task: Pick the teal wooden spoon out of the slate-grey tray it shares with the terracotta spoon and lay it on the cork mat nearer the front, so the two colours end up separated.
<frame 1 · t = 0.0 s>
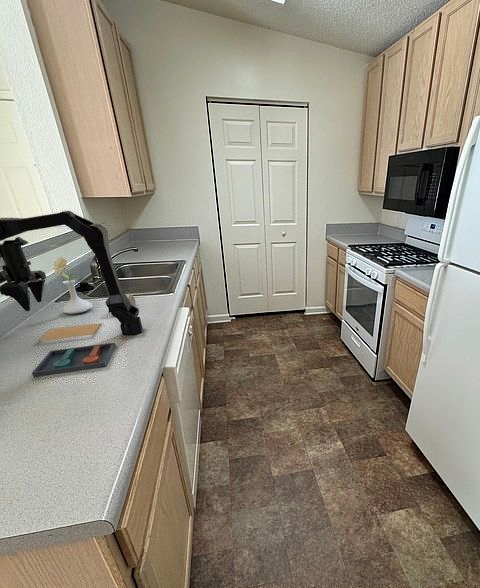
hand: (34, 306, 113), 15 cm above the counter, tool pointing down, fingers open, 9 cm apart
cork mat: (70, 334, 127), on the counter
teal spoon: (67, 361, 106), point 1 cm above the counter, touching tray
terracotta spoon: (95, 358, 108), point 1 cm above the counter, touching tray
ceramic mug: (126, 310, 150), on the counter
flower in vase: (79, 312, 149), on the counter
tray: (78, 362, 107), on the counter
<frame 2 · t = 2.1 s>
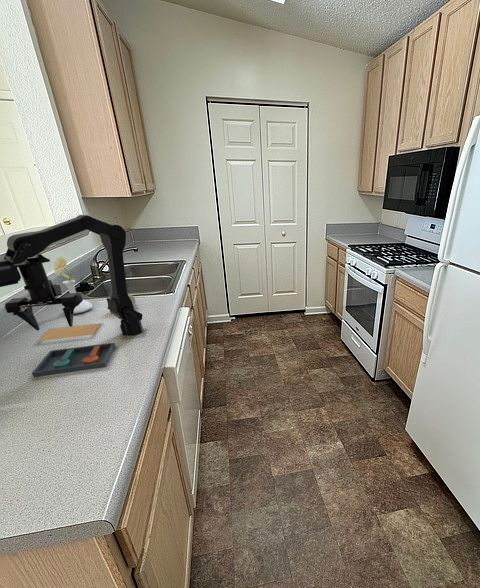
hand: (55, 328, 104), 11 cm above the counter, tool pointing down, fingers open, 9 cm apart
nothing on the counter moved.
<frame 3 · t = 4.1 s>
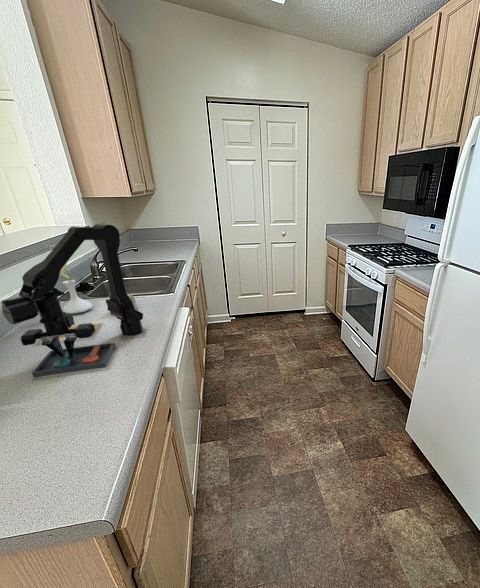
hand: (68, 357, 107), 2 cm above the counter, tool pointing down, fingers closed on teal spoon, 2 cm apart
teal spoon: (67, 361, 106), point 1 cm above the counter, touching gripper, tray
everything else where it was.
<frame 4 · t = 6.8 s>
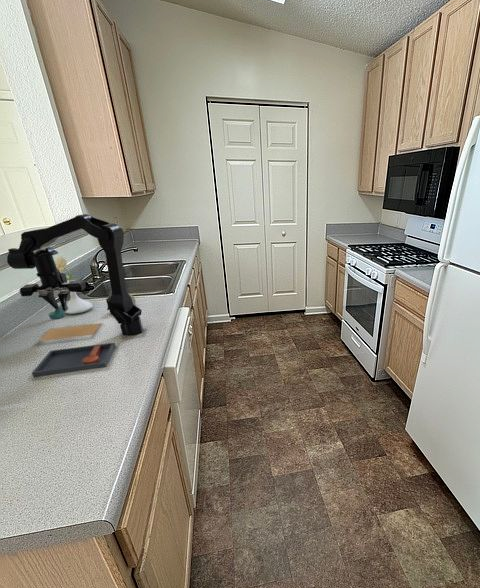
hand: (61, 310, 121), 10 cm above the counter, tool pointing down, fingers closed on teal spoon
teal spoon: (61, 314, 120), point 9 cm above the counter, touching gripper
everything else where it was.
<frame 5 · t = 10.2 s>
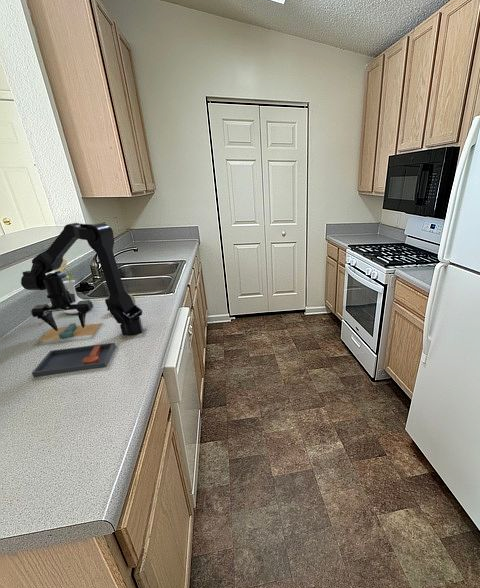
hand: (70, 329, 128), 1 cm above the counter, tool pointing down, fingers open, 9 cm apart
teal spoon: (70, 333, 127), resting on cork mat
everything else where it was.
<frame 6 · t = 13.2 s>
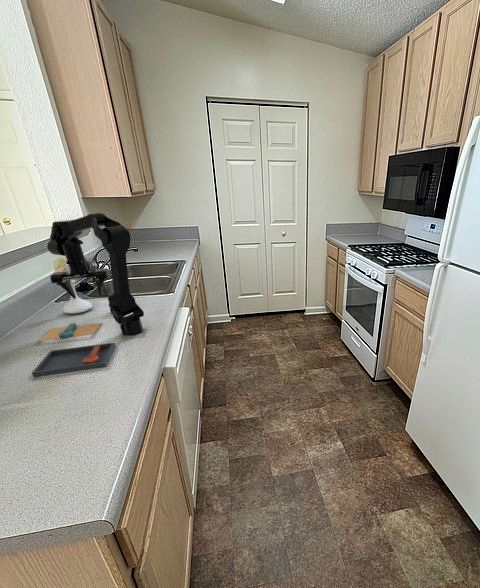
hand: (88, 297, 129), 12 cm above the counter, tool pointing down, fingers open, 9 cm apart
nothing on the counter moved.
at the end: teal spoon inside the target area on the cork mat (0.1 cm from its centre), point 0.4 cm above the cork mat's base; terracotta spoon inside the target area in the tray (5.0 cm from its centre), point 0.8 cm above the tray's base; the gripper is holding nothing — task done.
